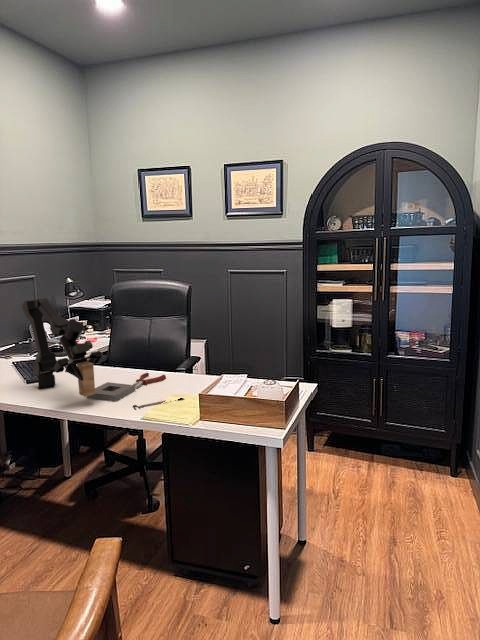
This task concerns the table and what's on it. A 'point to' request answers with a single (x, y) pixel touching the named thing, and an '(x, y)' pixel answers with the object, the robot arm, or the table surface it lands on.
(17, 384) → the table surface
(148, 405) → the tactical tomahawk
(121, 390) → the post plate
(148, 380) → the pliers
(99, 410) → the table surface
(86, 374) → the walnut peg
